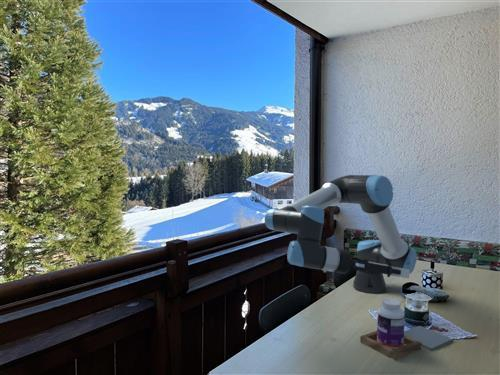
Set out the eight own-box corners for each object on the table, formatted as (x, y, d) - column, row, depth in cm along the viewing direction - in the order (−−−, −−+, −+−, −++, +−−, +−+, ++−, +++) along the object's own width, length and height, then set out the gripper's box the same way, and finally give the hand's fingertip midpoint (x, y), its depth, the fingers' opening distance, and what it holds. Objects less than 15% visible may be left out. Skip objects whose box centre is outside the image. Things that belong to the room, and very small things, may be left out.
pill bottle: (372, 340, 118) (373, 297, 118) (395, 339, 119) (396, 296, 118) (383, 352, 110) (384, 306, 110) (408, 351, 111) (409, 305, 110)
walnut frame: (360, 342, 117) (360, 336, 117) (386, 332, 124) (386, 327, 123) (394, 360, 106) (394, 353, 106) (421, 348, 112) (421, 342, 112)
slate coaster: (397, 335, 121) (397, 333, 121) (419, 327, 128) (419, 325, 128) (431, 350, 111) (431, 348, 111) (452, 341, 117) (452, 339, 117)
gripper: (321, 267, 126) (377, 277, 128) (349, 277, 102) (418, 289, 104) (324, 246, 127) (380, 256, 129) (352, 251, 103) (421, 263, 105)
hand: (397, 271), depth 116 cm, fingers open, 13 cm apart
